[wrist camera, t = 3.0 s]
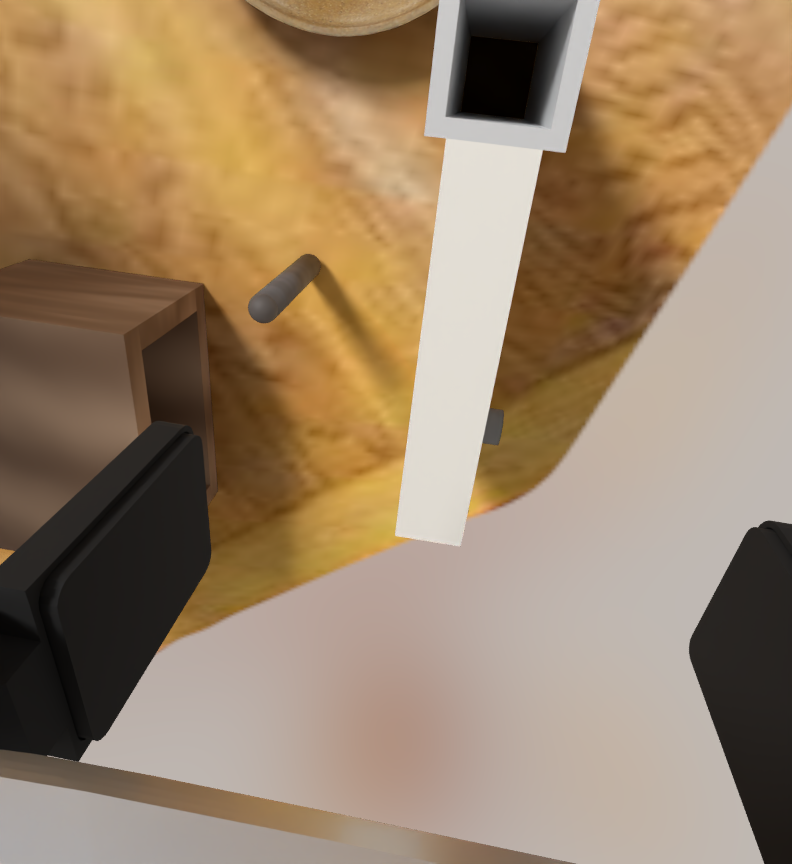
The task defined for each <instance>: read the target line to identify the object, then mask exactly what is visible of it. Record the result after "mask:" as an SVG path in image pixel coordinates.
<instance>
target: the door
mask: <svg viewBox="0 0 792 864" xmlns="http://www.w3.org/2000/svg"><path fill="white" fill-rule="evenodd" d="M599 2H600V0H439V8H438V17H437V26H436V35H435V44H434V53H433V62H432V71H431V80H430V89H429V98H428V107H427V116H426V125H425V134H424V136H430V137H439V138H446V144H445V152H444V160H443V167H442V175H441V183H440V191H439V198H438V206H437V214H436V222H435V229H434V237H433V245H432V253H431V260H430V268H429V276H428V284H427V291H426V299H425V307H424V315H423V322H422V330H421V338H420V346H419V353H418V361H417V369H416V377H415V384H414V392H413V400H412V408H411V415H410V423H409V431H408V439H407V446H406V454H405V462H404V470H403V477H402V485H401V493H400V501H399V508H398V516H397V524H396V532H395V536H400V537H406V538H412V539H418V540H424V541H430V542H437V543H442V544H448V545H454V546H461V543H462V538H463V533H464V528H465V523H466V518H467V514H468V509H469V504H470V499H471V494H472V489H473V485H474V480H475V475H476V470H477V465H478V461H479V456H480V451H481V446H482V443H486V444H492V445H498V444H499V441H500V437H501V433H502V427H503V418H504V411H503V410H499V409H492V408H490V403H491V398H492V393H493V388H494V383H495V379H496V374H497V369H498V364H499V359H500V354H501V350H502V345H503V340H504V335H505V330H506V326H507V321H508V316H509V311H510V306H511V301H512V297H513V292H514V287H515V282H516V277H517V272H518V268H519V263H520V258H521V253H522V248H523V244H524V239H525V234H526V229H527V224H528V219H529V215H530V210H531V205H532V200H533V195H534V190H535V186H536V181H537V176H538V171H539V166H540V162H541V157H542V152H543V150H546V151H555V152H563V153H566V148H567V144H568V139H569V135H570V131H571V126H572V122H573V117H574V113H575V108H576V104H577V100H578V95H579V91H580V86H581V82H582V77H583V73H584V69H585V64H586V60H587V55H588V51H589V46H590V42H591V38H592V33H593V29H594V24H595V20H596V15H597V11H598V7H599ZM471 36H477V37H486V38H496V39H505V40H514V41H523V42H532V43H538V46H537V52H536V57H535V62H534V68H533V73H532V78H531V84H530V89H529V94H528V100H527V105H526V110H525V116H524V119H519V118H511V117H502V116H494V115H485V114H477V113H468V112H461V108H462V100H463V93H464V86H465V79H466V71H467V64H468V57H469V50H470V42H471Z"/></svg>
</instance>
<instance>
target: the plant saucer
mask: <svg viewBox="0 0 792 864" xmlns="http://www.w3.org/2000/svg"><path fill="white" fill-rule="evenodd" d="M245 1H247V2H248V3H249V4H251V5H252V6H253V7H255V8H256V9H258V10H260V11H261V12H263V13H265V14H267V15H268V16H270V17H272V18H274V19H276V20H278V21H280V22H282V23H284V24H287V25H289V26H292V27H295V28H298V29H301V30H304V31H308V32H312V33H317V34H323V35H329V36H363V35H369V34H375V33H379V32H382V31H386V30H390V29H393V28H397V27H399V26H401V25H404V24H406V23H408V22H410V21H412V20H414V19H416V18H418V17H420V16H422V15H424V14H426V13H427V12H429V11H430V10H432V9H434V8H435V7H437V6H438V5H439V0H245Z"/></svg>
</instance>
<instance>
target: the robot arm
mask: <svg viewBox="0 0 792 864" xmlns="http://www.w3.org/2000/svg"><path fill="white" fill-rule="evenodd" d="M210 558H211V542H210V529H209V517H208V505H207V493H206V481H205V468H204V456H203V444H202V439H201V437H200V436H198V435H194V433H193V430H192V428H191V427H190V426H188V425H182V424H176V423H170V422H164V421H155V422H153V423H152V424H151V425H150V426H149V427H147V428H146V429H145V430H144V431H143V432H142V433H141V434H140V435H139V436H138V437H137V438H136V439H135V440H134V441H133V442H131V443H130V444H129V445H128V446H127V447H126V448H125V449H124V450H123V451H122V452H121V453H120V454H119V455H118V456H117V457H115V458H114V459H113V460H112V461H111V462H110V463H109V464H108V465H107V466H106V467H105V468H104V469H103V470H102V471H100V472H99V473H98V474H97V475H96V476H95V477H94V478H93V479H92V480H91V481H90V482H89V483H88V484H87V485H86V486H84V487H83V488H82V489H81V490H80V491H79V492H78V493H77V494H76V495H75V496H74V497H73V498H72V499H71V500H70V501H68V502H67V503H66V504H65V505H64V506H63V507H62V508H61V509H60V510H59V511H58V512H57V513H56V514H55V515H53V516H52V517H51V518H50V519H49V520H48V521H47V522H46V523H45V524H44V525H43V526H42V527H41V528H40V529H39V530H37V531H36V532H35V533H34V534H33V535H32V536H31V537H30V538H29V539H28V540H27V541H26V542H25V543H24V544H23V545H21V546H20V547H19V548H18V549H17V550H16V551H15V552H14V553H13V554H12V555H11V556H10V557H9V558H8V559H6V560H5V561H4V562H3V563H2V564H1V565H0V864H575V863H570V862H565V861H560V860H555V859H551V858H546V857H541V856H537V855H531V854H527V853H522V852H518V851H513V850H508V849H503V848H499V847H494V846H489V845H484V844H479V843H475V842H470V841H465V840H460V839H456V838H451V837H447V836H442V835H437V834H432V833H428V832H423V831H418V830H413V829H408V828H403V827H398V826H394V825H389V824H385V823H380V822H374V821H370V820H366V819H361V818H356V817H351V816H346V815H341V814H336V813H332V812H327V811H322V810H317V809H312V808H307V807H303V806H297V805H292V804H288V803H283V802H278V801H273V800H268V799H263V798H259V797H254V796H249V795H244V794H239V793H234V792H229V791H224V790H220V789H214V788H210V787H204V786H199V785H195V784H190V783H185V782H180V781H176V780H171V779H166V778H161V777H156V776H151V775H145V774H140V773H135V772H129V771H124V770H119V769H113V768H108V767H102V766H97V765H91V764H86V763H81V762H79V760H80V758H81V757H82V755H83V754H84V752H85V751H86V749H87V747H88V746H89V744H90V743H91V741H92V740H95V741H98V740H101V739H102V738H103V737H104V736H105V735H106V733H107V732H108V731H109V729H110V727H111V726H112V724H113V723H114V721H115V719H116V718H117V716H118V714H119V713H120V711H121V709H122V708H123V706H124V704H125V703H126V701H127V699H128V698H129V696H130V695H131V693H132V691H133V690H134V688H135V687H136V685H137V683H138V682H139V680H140V678H141V677H142V675H143V674H144V672H145V670H146V669H147V667H148V665H149V664H150V662H151V660H152V659H153V657H154V656H155V654H156V652H157V651H158V649H159V647H160V646H161V644H162V642H163V641H164V639H165V638H166V636H167V634H168V633H169V631H170V629H171V628H172V626H173V624H174V623H175V621H176V620H177V618H178V616H179V615H180V613H181V611H182V610H183V608H184V606H185V605H186V603H187V602H188V600H189V598H190V597H191V595H192V593H193V592H194V590H195V588H196V587H197V585H198V584H199V582H200V580H201V579H202V577H203V575H204V574H205V572H206V570H207V568H208V565H209V562H210ZM689 654H690V659H691V662H692V665H693V668H694V671H695V673H696V676H697V679H698V682H699V684H700V687H701V690H702V693H703V695H704V698H705V701H706V704H707V706H708V709H709V712H710V715H711V718H712V720H713V723H714V726H715V729H716V731H717V734H718V737H719V740H720V742H721V745H722V748H723V751H724V753H725V756H726V759H727V762H728V764H729V767H730V770H731V773H732V775H733V778H734V781H735V784H736V787H737V789H738V792H739V795H740V797H741V800H742V803H743V806H744V809H745V811H746V814H747V817H748V820H749V822H750V825H751V828H752V831H753V833H754V836H755V839H756V842H757V844H758V847H759V850H760V853H761V856H762V858H763V861H764V864H792V524H787V523H781V522H775V521H765V522H763V523H762V524H760V526H759V527H758V528H757V527H753V528H751V529H749V530H748V532H747V533H746V535H745V536H744V538H743V540H742V542H741V544H740V546H739V548H738V550H737V552H736V554H735V555H734V557H733V559H732V561H731V563H730V565H729V567H728V569H727V570H726V572H725V574H724V576H723V578H722V580H721V582H720V584H719V586H718V587H717V589H716V591H715V593H714V595H713V597H712V599H711V601H710V603H709V605H708V607H707V608H706V610H705V612H704V614H703V616H702V618H701V620H700V621H699V623H698V625H697V627H696V629H695V631H694V633H693V635H692V637H691V639H690V645H689ZM47 755H49V756H54V757H58V758H54V757H48V756H47ZM59 758H63V759H59ZM65 759H68V760H65ZM70 760H73V761H70ZM75 761H77V762H75Z"/></svg>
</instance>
